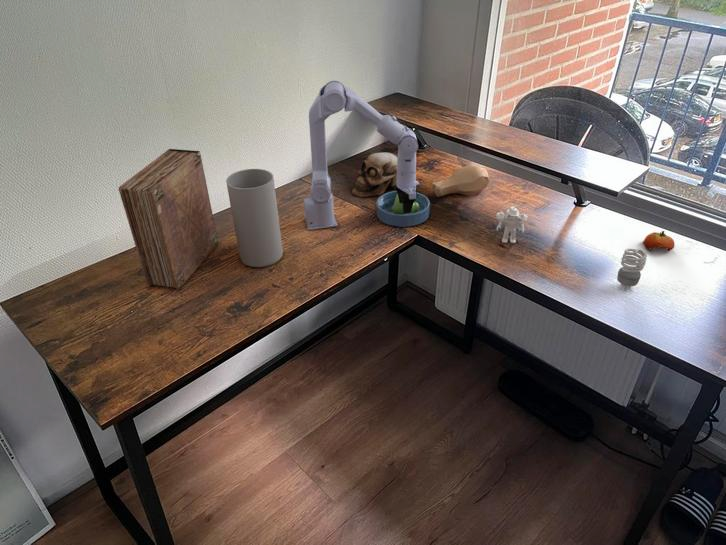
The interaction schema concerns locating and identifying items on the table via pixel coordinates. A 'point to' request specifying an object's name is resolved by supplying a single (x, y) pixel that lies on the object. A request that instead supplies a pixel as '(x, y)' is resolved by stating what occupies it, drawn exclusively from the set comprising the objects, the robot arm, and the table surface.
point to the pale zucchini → (396, 200)
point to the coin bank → (376, 175)
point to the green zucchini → (399, 208)
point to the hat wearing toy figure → (511, 223)
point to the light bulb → (631, 268)
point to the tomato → (658, 241)
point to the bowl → (402, 220)
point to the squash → (463, 181)
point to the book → (170, 217)
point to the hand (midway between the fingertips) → (405, 209)
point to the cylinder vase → (255, 216)
